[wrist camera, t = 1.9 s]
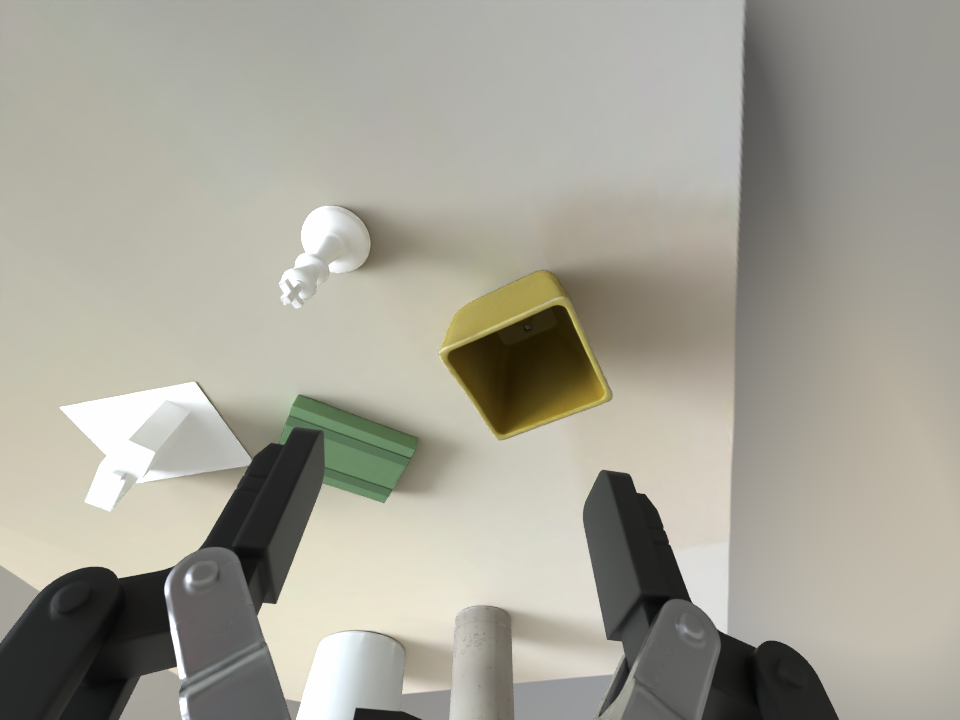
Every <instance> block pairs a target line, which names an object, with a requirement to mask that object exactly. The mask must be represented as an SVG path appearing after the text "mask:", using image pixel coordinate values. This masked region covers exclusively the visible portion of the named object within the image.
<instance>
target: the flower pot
mask: <svg viewBox="0 0 960 720" xmlns="http://www.w3.org/2000/svg"><path fill="white" fill-rule="evenodd" d="M526 325H530V326H531V329H530V330H525V328H524V327H525V326H526ZM439 357H440V359H441V361H442V362H443V364H444V365H445V366H446V368H447V369H448V371H449V372H450V373H451V375H452V376H453V377H454V378H455V380H456V381H457V383H458V384H459V385H460V387H461V388H462V389H463V391H464V392H465V394H466V395H467V396H468V398H469V399H470V401H471V402H472V404H473V405H474V407H475V408H476V410H477V411H478V413H479V414H480V416H481V418H482V419H483V421H484V422H485V424H486V425H487V427H488V428H489V430H490V431H491V433H492V434H493V435H494V436H495V437H496V438H497V439H498V440H505V439H508V438H511V437H513V436H516V435H519V434H521V433H524V432H527V431H529V430H532V429H535V428H537V427H540V426H543V425H546V424H548V423H551V422H554V421H556V420H559V419H562V418H565V417H568V416H570V415H573V414H576V413H579V412H582V411H585V410H587V409H590V408H593V407H596V406H599V405H601V404H603V403H606V402H608V401H610V400H612V396H613V395H612V391H611V389H610V387H609V385H608V383H607V381H606V379H605V377H604V375H603V372H602V370H601V368H600V366H599V364H598V362H597V359H596V357H595V355H594V353H593V350H592V348H591V346H590V344H589V342H588V339H587V337H586V335H585V333H584V330H583V328H582V326H581V323H580V321H579V319H578V316H577V314H576V312H575V309H574V307H573V305H572V303H571V301H570V299H569V297H568V295H567V294H566V292H565V290H564V289H563V287H562V285H561V284H560V282H559V280H558V279H557V277H556V276H555V275H554V274H553V273H551V272H549V271H546V270H540V271H536V272H534V273H531V274H529V275H527V276H525V277H523V278H521V279H519V280H517V281H515V282H513V283H510V284H508V285H506V286H504V287H502V288H500V289H498V290H495V291H493V292H491V293H489V294H487V295H485V296H482V297H480V298H478V299H476V300H474V301H472V302H470V303H468V304H467V305H465V306H464V307H462V308H461V309H460V310H459V311H458V312H457V313H456V314H455V316H454V317H453V319H452V321H451V324H450V326H449V328H448V331H447V333H446V336H445V338H444V341H443V343H442V346H441V349H440V351H439Z"/></svg>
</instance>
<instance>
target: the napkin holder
mask: <svg viewBox="0 0 960 720" xmlns="http://www.w3.org/2000/svg"><path fill="white" fill-rule="evenodd" d="M59 408H60V409H61V410H62V411H63V412H64V413H65V414H66V415H67V416H68V417H69V418H70V419H71V420H72V421H73V422H74V423H75V424H76V425H77V426H78V427H79V428H80V429H81V430H82V431H83V432H84V433H85V434H86V435H87V436H88V437H89V438H90V439H91V440H92V441H93V442H94V443H95V444H96V445H97V446H98V447H99V448H100V449H101V450H102V451H103V452H104V453H105V454H106V455H107V457H106V458H105V459H104V460H103V461H102V462H101V463H100V466H99V468H98V470H97V473H96V475H95V478H94V480H93V483H92V485H91V487H90V490H89V492H88V495H87V497H86V500H85V502H86V503H89V504H91V505H94V506H97V507H99V508H102V509H105V510H107V511H110V512H111V511H112V510H113V509H114V507H115V506H116V505H117V504H118V503H119V501H120V500H121V499H122V498H123V497H124V495H125V494H126V493H127V492H128V491H129V489H130V488H131V487H132V486H133V485H134V484H135V483H141V482H147V481H154V480H160V479H166V478H173V477H179V476H186V475H192V474H199V473H205V472H211V471H218V470H224V469H231V468H237V467H244V466H249V465H250V463H251V462H252V459H251V457H250V456H249V455H248V453H247V452H246V451H245V449H244V448H243V447H242V445H241V444H240V442H239V441H238V440H237V438H236V437H235V436H234V434H233V433H232V432H231V430H230V429H229V427H228V426H227V425H226V423H225V422H224V421H223V419H222V418H221V417H220V415H219V414H218V412H217V411H216V410H215V408H214V407H213V406H212V404H211V403H210V402H209V400H208V399H207V397H206V396H205V395H204V393H203V392H202V391H201V389H200V388H199V387H198V385H197V384H196V383H195V382H191V383H185V384H180V385H175V386H169V387H164V388H159V389H154V390H148V391H143V392H138V393H133V394H127V395H122V396H117V397H112V398H106V399H101V400H96V401H90V402H85V403H80V404H75V405H69V406H64V407H59Z"/></svg>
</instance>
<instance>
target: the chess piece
mask: <svg viewBox="0 0 960 720" xmlns="http://www.w3.org/2000/svg"><path fill="white" fill-rule="evenodd" d="M302 243H303V246H304V249H305V251H306V253H304V254H302V255H300V256H299V257H298V258H297V260H296V263H295V268H292V269H289V270H288V271H286V272H285V273H284V275H283V277H282V280H281V281H280V282H279V283H278V284H279V286H280V287H281V289H282V290H283V292H284V294H283V296H282V297H281V298H280V299H281V300H282V302H283V303H284V305H286V304H289V303H291V304H292V305H293V307H294V308H295V309H297V308H300V307H302V306H303V304H304V302H303V301H302V300H308V299H310V298H312V297H313V296H314V295H315V293H316V290H317V285H319V284H322V283H324V282H325V281H326V280H327V279H328V277H329V273H330V272H334V273H348V272H351V271H353V270H355V269H357V268H358V267H360V266H361V265H362V264H363V263H364V262H365V261H366V259H367V258H368V255H369V253H370V248H371V241H370V236H369V233H368V230H367V228H366V227H365V225H364V223H363V222H362V221H361V220H360V219H359V218H358V217H357V216H356V215H355V214H354V213H352V212H351V211H349V210H347V209H345V208H342V207H338V206H324V207H320V208H318V209H316V210H314V211H313V212H312V213H311V214H310V215H309V216H308V217H307V219H306V221H305V223H304V225H303V228H302Z"/></svg>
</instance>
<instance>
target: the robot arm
mask: <svg viewBox="0 0 960 720" xmlns="http://www.w3.org/2000/svg"><path fill="white" fill-rule="evenodd" d="M324 472H325V453H324V432H323V430H317V429H309V428H302V427H294V428H293V429H292V431H291V433H290V435H289V437H288V439H287V440H286V442H285V444H284V445H282V444H274V443H270V444H269V445H268V446H267V447H265V448H264V449H263V450H262V451H261V452H259V453H258V454H257V455H256V456H255V457H254V458H253V460H252V462H251V463H250V465H249V467H248V469H247V470H246V472H245V476H243V477H242V479H241V481H240V482H239V484H238V486H237V489H236V490H235V491H234V493H233V494H232V496H231V498H230V499H229V501H228V503H227V505H226V506H225V508H224V510H223V512H222V513H221V515H220V517H219V518H218V520H217V522H216V524H215V525H214V527H213V529H212V530H211V532H210V534H209V536H208V537H207V539H206V541H205V542H204V543H203V545H202V546H201V547H200V548H199V550H198V551H196V552H194V553H191V554H190V555H188V556H186V557H185V558H184V559H182V560H181V561H180V562H179V563H178V564H177V565H175V566H173V567H171V568H168V569H165V570H161V571H157V572H151V573H146V574H141V575H135V576H130V577H124V578H119V579H118V578H117V576H116V575H115V574H114V572H112V571H111V570H109V569H107V568H104V567H87V568H82V569H78V570H75V571H72V572H70V573H67V574H65V575H63V576H61V577H60V578H58V579H56V580H55V581H53V582H52V583H50V584H49V585H48V586H46V587H45V588H44V589H43V590H42V591H41V592H40V593H39V594H38V595H37V596H36V597H35V599H34V600H33V601H32V603H31V604H30V605H29V606H28V608H27V609H26V610H25V612H24V613H23V614H22V616H21V617H20V618H19V620H18V621H17V622H16V623H15V625H14V626H13V627H12V629H11V630H10V631H9V633H8V634H7V635H6V637H5V638H4V639H3V640H2V642H1V643H0V720H119V718H120V716H121V714H122V712H123V710H124V708H125V706H126V704H127V702H128V700H129V698H130V695H131V694H132V692H133V690H134V688H135V686H136V684H137V682H138V680H139V678H140V676H142V675H146V674H149V673H153V672H157V671H161V670H165V669H169V668H173V667H177V666H178V671H179V676H180V683H181V689H180V691H179V697H180V706H181V713H182V719H183V720H291V718H290V714H289V711H288V708H287V705H286V701H285V698H284V695H283V692H282V689H281V686H280V682H279V679H278V676H277V673H276V670H275V667H274V664H273V660H272V657H271V654H270V651H269V648H268V646H267V643H266V642H265V640H264V637H263V634H262V630H261V627H260V624H259V621H258V618H257V615H258V613H259V610H260V608H261V606H262V603H271V604H276V603H277V600H278V597H279V595H280V592H281V590H282V587H283V585H284V582H285V579H286V577H287V574H288V572H289V569H290V566H291V564H292V561H293V559H294V556H295V554H296V551H297V548H298V546H299V543H300V541H301V538H302V535H303V533H304V530H305V528H306V525H307V523H308V520H309V517H310V515H311V512H312V510H313V507H314V504H315V502H316V499H317V497H318V494H319V492H320V489H321V486H322V482H323V478H324ZM583 523H584V528H585V533H586V538H587V543H588V548H589V553H590V558H591V563H592V567H593V572H594V577H595V582H596V587H597V592H598V597H599V602H600V607H601V612H602V617H603V622H604V627H605V632H606V637H607V640H613V641H622V643H623V648H624V652H625V653H624V655H623V656H622V658H621V660H620V662H619V664H618V666H617V668H616V671H615V673H614V675H613V677H612V679H611V681H610V684H609V686H608V688H607V690H606V692H605V695H604V697H603V699H602V701H601V703H600V706H599V707H598V710H597V712H596V714H595V716H594V718H593V720H839V719H838V716H837V714H836V712H835V710H834V708H833V706H832V704H831V702H830V700H829V698H828V696H827V694H826V692H825V689H824V687H823V685H822V683H821V681H820V679H819V678H818V675H817V674H816V672H815V671H814V669H813V668H812V666H811V665H810V664H809V663H808V662H807V660H806V659H805V658H804V657H803V656H801V655H800V654H799V653H798V652H797V651H795V650H794V649H793V648H791V647H789V646H788V645H786V644H783V643H781V642H777V641H766V642H764V643H762V644H761V645H760V646H759V647H758V648H755V647H753V646H751V645H748V644H746V643H744V642H742V641H739V640H737V639H735V638H733V637H731V636H729V635H726V634H724V633H722V632H720V631H719V630H717V629H716V627H715V625H714V624H713V622H712V621H711V619H710V618H709V617H708V616H707V614H706V613H705V612H704V611H702V610H701V609H700V608H699V607H697V606H696V605H694V604H693V603H692V601H691V599H690V597H689V594H688V592H687V589H686V586H685V584H684V581H683V578H682V575H681V573H680V570H679V567H678V565H677V562H676V559H675V557H674V554H673V551H672V548H671V546H670V545H669V540H668V538H667V535H666V532H665V531H664V530H663V528H664V527H663V524H662V521H661V519H660V516H659V513H658V511H657V509H656V508H655V507H654V505H653V504H652V503H651V501H650V500H649V499H648V498H647V496H646V495H645V494H640V493H637V492H636V490H635V487H634V484H633V481H632V478H631V476H630V475H629V474H628V473H622V472H614V471H607V470H602V471H601V472H600V473H599V475H598V477H597V479H596V481H595V483H594V485H593V487H592V489H591V491H590V493H589V495H588V497H587V499H586V502H585V505H584V510H583ZM353 720H421V719H419V718H417V717H414V716H412V715H410V714H407V713H405V712H402V711H390V710H379V709H367V708H355V713H354V718H353Z"/></svg>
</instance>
